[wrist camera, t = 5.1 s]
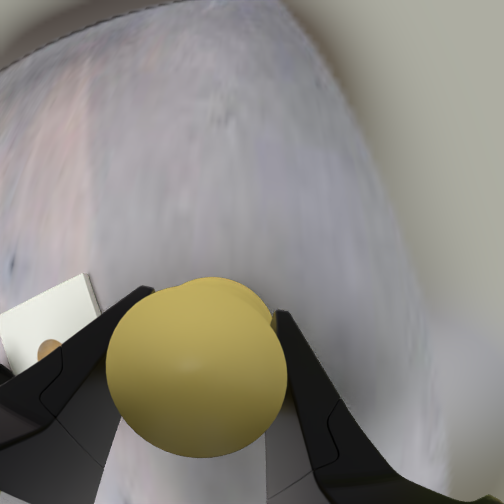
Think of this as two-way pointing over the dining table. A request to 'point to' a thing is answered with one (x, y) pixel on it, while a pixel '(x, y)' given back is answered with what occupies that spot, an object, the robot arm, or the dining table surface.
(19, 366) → the tile
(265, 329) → the yellow domed knob
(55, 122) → the dining table surface
